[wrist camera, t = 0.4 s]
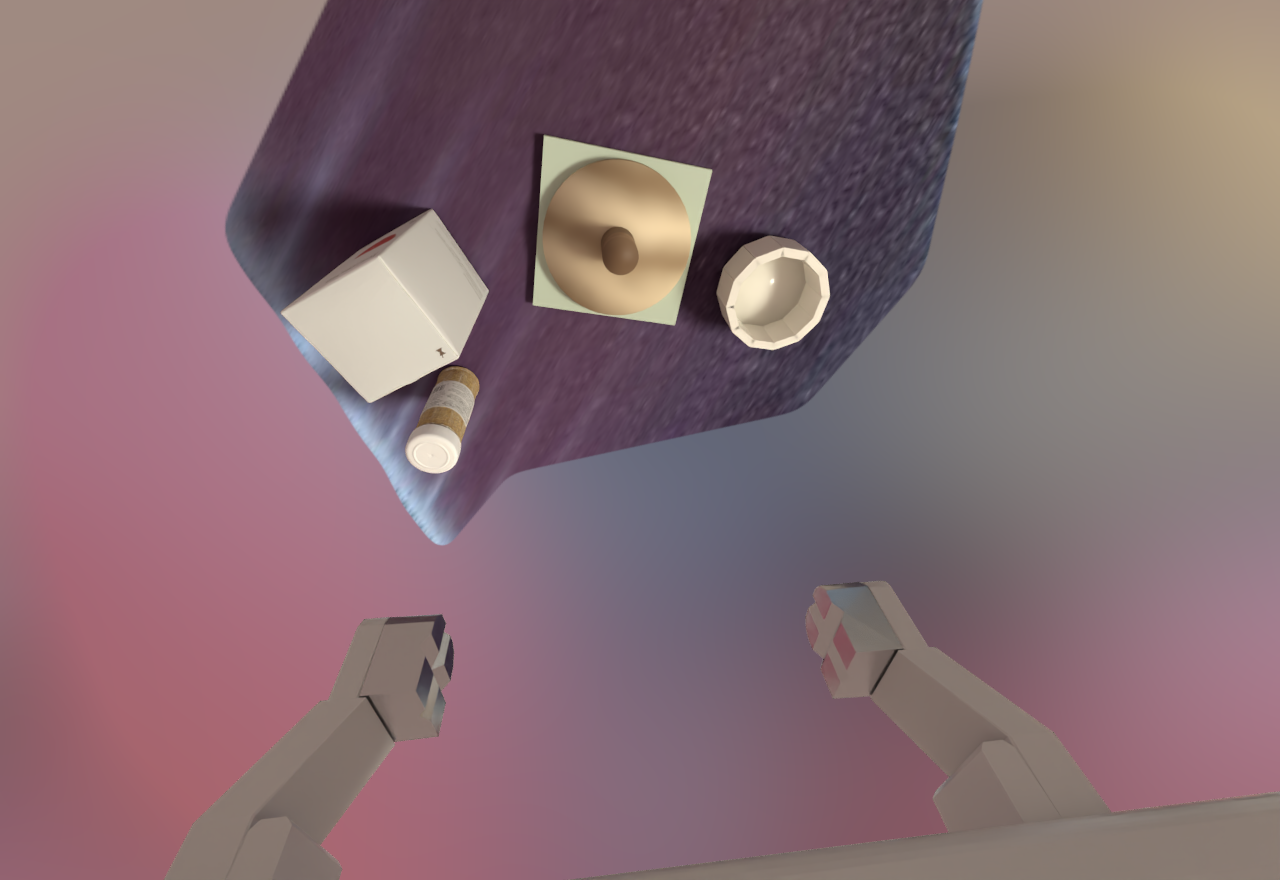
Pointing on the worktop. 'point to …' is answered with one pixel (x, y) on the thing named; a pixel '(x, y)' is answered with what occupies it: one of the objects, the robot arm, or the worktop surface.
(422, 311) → the supplement box
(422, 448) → the sprinkles bottle
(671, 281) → the lid
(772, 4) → the worktop surface
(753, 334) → the bowl
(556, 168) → the mat
